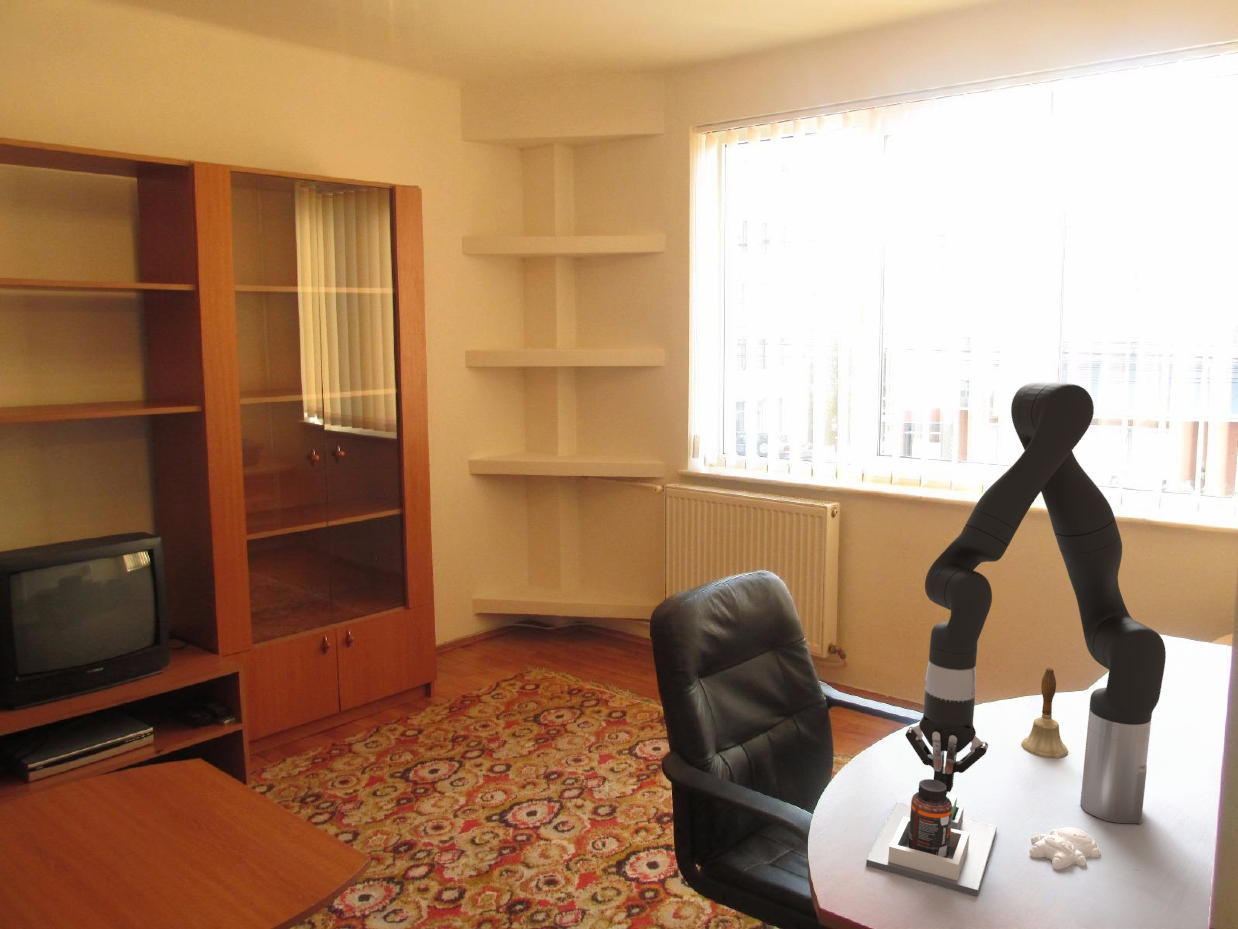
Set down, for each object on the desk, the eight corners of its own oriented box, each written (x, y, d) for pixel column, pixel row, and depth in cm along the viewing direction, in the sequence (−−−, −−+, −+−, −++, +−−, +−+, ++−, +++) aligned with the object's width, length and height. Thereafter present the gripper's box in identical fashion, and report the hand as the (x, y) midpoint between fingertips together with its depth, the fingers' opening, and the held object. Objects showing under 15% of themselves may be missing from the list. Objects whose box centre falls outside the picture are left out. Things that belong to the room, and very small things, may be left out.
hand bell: (1021, 753, 186) (1027, 673, 184) (1021, 736, 194) (1027, 659, 191) (1068, 761, 183) (1076, 680, 181) (1067, 743, 191) (1074, 665, 188)
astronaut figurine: (1014, 849, 154) (1016, 831, 153) (1065, 830, 160) (1066, 813, 159) (1062, 877, 146) (1064, 858, 146) (1114, 857, 152) (1115, 838, 152)
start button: (955, 815, 159) (957, 796, 158) (951, 825, 155) (952, 807, 155) (931, 809, 161) (932, 791, 160) (926, 819, 157) (928, 801, 157)
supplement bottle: (954, 865, 147) (959, 795, 145) (914, 865, 147) (919, 794, 145) (941, 843, 153) (946, 775, 151) (903, 843, 153) (907, 775, 151)
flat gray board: (996, 832, 158) (997, 811, 158) (977, 896, 141) (979, 874, 140) (895, 807, 166) (897, 787, 165) (866, 865, 148) (867, 844, 148)
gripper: (997, 689, 155) (989, 792, 157) (912, 673, 161) (905, 772, 164) (991, 706, 148) (982, 812, 151) (902, 689, 154) (895, 791, 157)
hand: (942, 791), depth 157 cm, fingers closed
